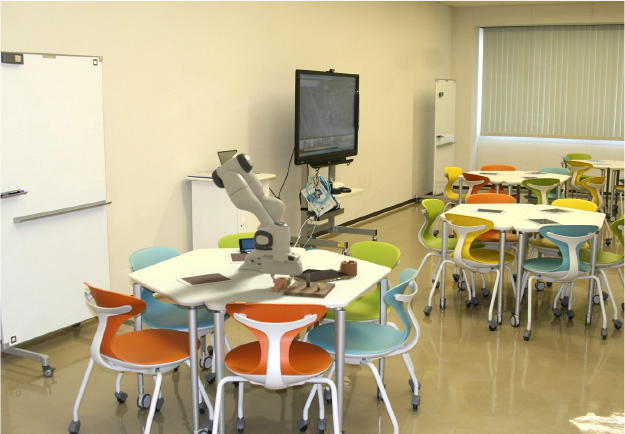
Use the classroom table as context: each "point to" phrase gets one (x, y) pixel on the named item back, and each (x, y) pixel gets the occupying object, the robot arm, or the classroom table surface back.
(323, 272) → the hardcover book
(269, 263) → the robot arm
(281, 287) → the orange square-holed tool
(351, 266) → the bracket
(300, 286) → the board
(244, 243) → the small monitor
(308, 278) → the post
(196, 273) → the classroom table surface
